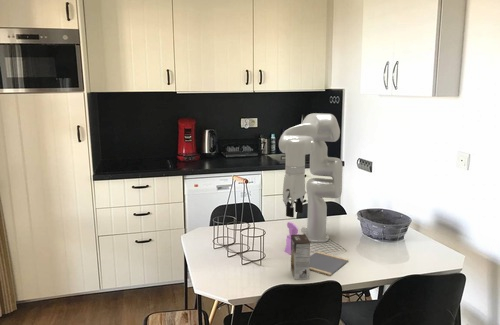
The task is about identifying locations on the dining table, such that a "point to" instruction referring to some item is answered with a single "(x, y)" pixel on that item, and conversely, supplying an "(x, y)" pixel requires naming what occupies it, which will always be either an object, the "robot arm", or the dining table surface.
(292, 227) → the toy chair
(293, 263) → the coffee box
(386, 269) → the dining table surface
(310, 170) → the robot arm
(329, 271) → the mat
